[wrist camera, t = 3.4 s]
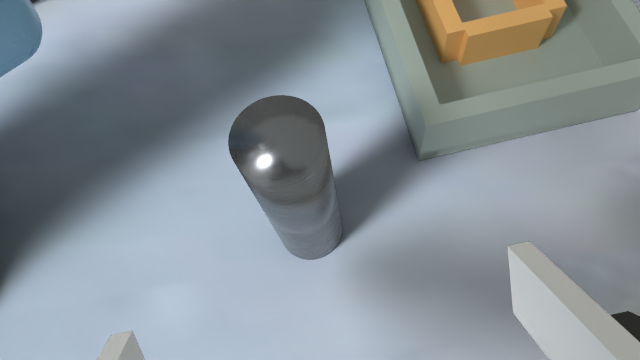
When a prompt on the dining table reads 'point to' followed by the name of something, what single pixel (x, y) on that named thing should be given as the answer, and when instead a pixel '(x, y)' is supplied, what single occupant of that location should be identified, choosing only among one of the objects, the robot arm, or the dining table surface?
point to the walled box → (506, 66)
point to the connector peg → (289, 172)
